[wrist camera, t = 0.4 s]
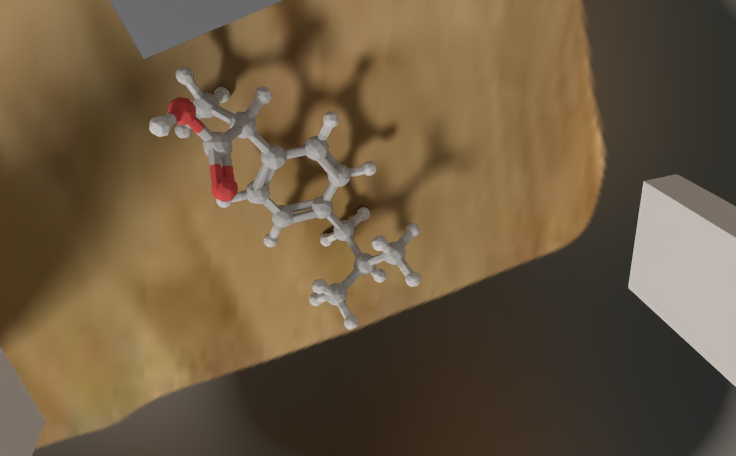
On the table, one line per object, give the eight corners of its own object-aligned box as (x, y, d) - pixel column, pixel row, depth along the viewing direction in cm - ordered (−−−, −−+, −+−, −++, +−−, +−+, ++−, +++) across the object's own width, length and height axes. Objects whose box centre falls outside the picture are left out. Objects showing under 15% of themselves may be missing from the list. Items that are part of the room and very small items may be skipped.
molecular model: (422, 224, 42) (460, 306, 34) (310, 284, 43) (320, 377, 35) (286, -8, 32) (292, 27, 23) (146, 80, 33) (105, 143, 25)
